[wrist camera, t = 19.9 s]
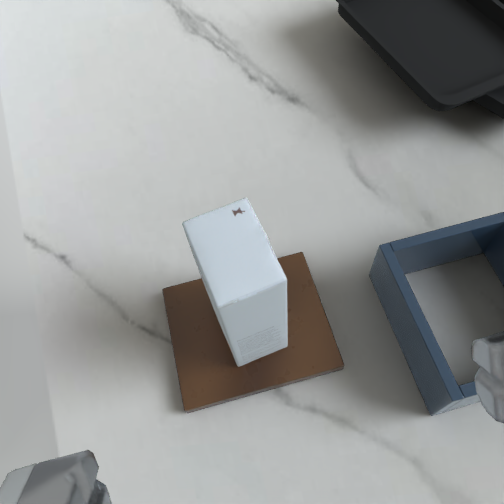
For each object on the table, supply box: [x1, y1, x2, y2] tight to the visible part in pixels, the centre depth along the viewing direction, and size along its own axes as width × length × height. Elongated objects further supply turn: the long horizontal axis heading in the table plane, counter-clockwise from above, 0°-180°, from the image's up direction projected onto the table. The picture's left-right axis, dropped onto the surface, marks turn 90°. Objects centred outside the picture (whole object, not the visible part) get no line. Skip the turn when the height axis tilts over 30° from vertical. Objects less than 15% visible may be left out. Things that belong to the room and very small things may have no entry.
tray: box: [336, 0, 504, 118], centre depth 47 cm, size 30×23×5 cm
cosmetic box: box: [182, 198, 288, 367], centre depth 31 cm, size 6×4×12 cm
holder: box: [369, 212, 504, 416], centre depth 34 cm, size 11×12×5 cm
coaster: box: [163, 252, 344, 413], centre depth 36 cm, size 12×10×1 cm
